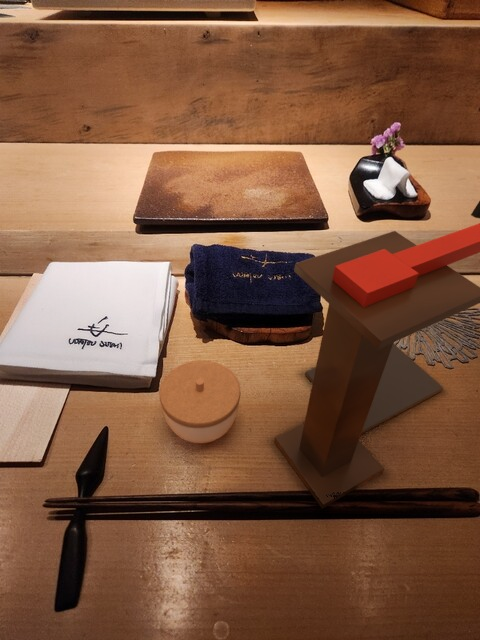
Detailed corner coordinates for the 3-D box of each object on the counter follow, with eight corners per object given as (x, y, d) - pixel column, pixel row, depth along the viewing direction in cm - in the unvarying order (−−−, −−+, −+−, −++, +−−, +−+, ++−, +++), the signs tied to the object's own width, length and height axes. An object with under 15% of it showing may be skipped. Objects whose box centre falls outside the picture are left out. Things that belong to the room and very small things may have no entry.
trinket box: (149, 420, 66) (141, 378, 60) (207, 382, 72) (205, 340, 65) (195, 472, 60) (192, 431, 54) (254, 426, 66) (258, 384, 59)
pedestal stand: (401, 466, 62) (488, 292, 42) (324, 512, 57) (381, 340, 37) (344, 403, 69) (394, 230, 49) (272, 439, 64) (295, 263, 44)
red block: (512, 247, 47) (519, 234, 46) (363, 307, 40) (367, 293, 38) (477, 227, 50) (482, 214, 49) (331, 280, 42) (334, 265, 41)
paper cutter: (442, 391, 72) (443, 387, 71) (358, 436, 65) (359, 432, 65) (384, 339, 80) (385, 335, 79) (304, 374, 73) (305, 371, 73)
